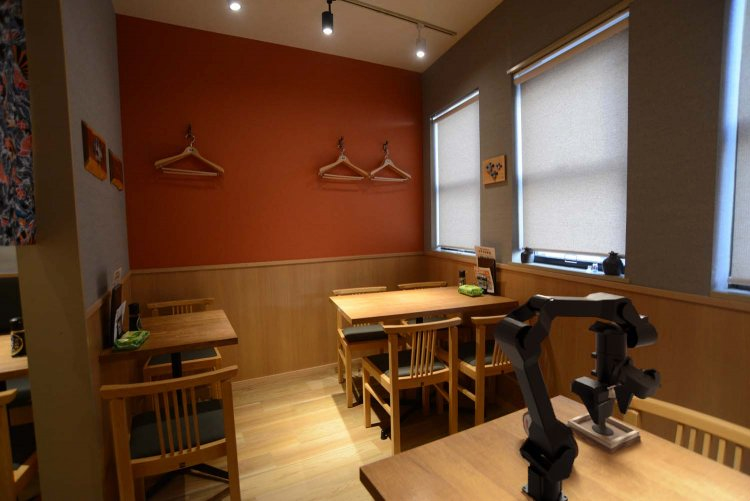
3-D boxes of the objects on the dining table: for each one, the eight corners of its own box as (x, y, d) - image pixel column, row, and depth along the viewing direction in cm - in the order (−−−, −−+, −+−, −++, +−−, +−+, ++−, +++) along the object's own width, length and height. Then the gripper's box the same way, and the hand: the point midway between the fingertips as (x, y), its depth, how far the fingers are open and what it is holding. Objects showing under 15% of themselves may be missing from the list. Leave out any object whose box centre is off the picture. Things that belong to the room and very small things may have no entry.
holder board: (610, 454, 85) (610, 444, 85) (566, 428, 96) (566, 420, 96) (640, 440, 90) (640, 431, 90) (595, 417, 101) (595, 409, 101)
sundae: (624, 435, 90) (625, 379, 89) (603, 439, 89) (603, 383, 88) (602, 421, 97) (602, 369, 96) (582, 425, 95) (582, 372, 94)
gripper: (623, 373, 65) (621, 452, 66) (678, 354, 73) (676, 426, 74) (569, 354, 75) (568, 422, 77) (622, 339, 83) (621, 402, 84)
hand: (610, 418), depth 78 cm, fingers open, 9 cm apart
